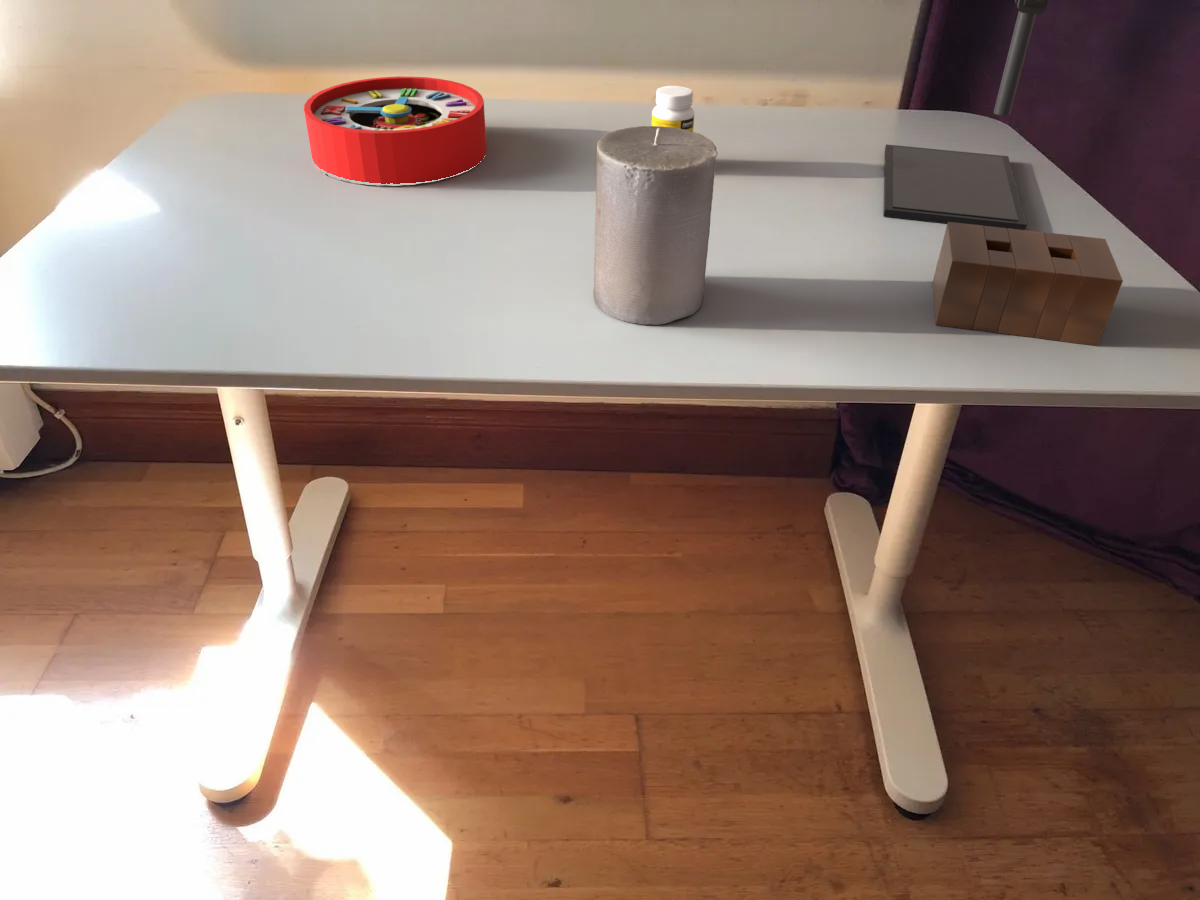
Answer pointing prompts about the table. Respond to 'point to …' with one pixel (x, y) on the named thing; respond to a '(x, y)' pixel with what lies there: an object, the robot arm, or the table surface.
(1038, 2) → the robot arm
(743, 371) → the table surface
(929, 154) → the tablet
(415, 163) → the toy clock
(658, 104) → the supplement bottle
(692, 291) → the pillar candle
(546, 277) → the table surface
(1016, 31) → the stylus
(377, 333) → the table surface
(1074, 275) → the pen stand
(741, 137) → the table surface
